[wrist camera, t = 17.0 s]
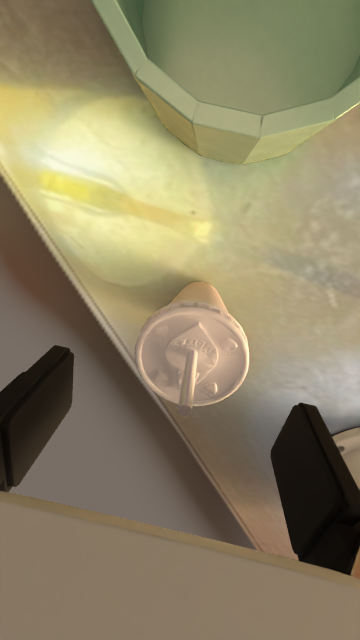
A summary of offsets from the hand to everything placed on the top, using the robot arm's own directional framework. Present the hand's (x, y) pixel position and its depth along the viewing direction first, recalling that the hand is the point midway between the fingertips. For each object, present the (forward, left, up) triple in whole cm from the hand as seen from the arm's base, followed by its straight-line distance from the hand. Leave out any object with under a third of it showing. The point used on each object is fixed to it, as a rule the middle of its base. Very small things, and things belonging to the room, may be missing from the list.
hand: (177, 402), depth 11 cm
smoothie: (0, 0, -13) cm, 13 cm away
